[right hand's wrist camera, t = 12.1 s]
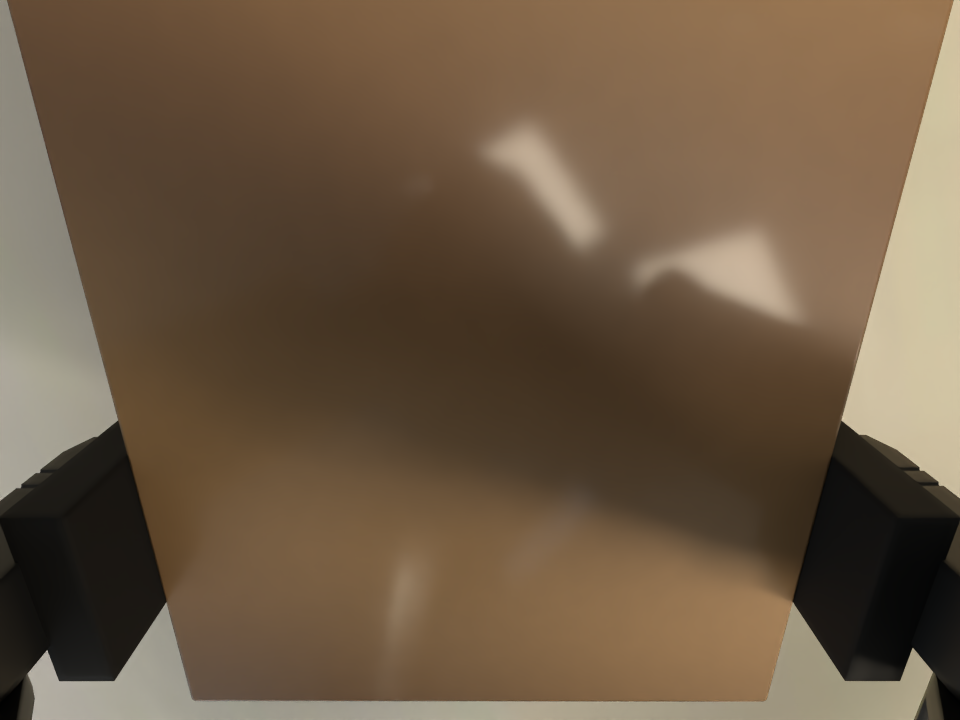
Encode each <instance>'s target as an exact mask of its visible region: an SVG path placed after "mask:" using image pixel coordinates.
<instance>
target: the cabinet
mask: <svg viewBox="0 0 960 720" xmlns="http://www.w3.org/2000/svg"><path fill="white" fill-rule="evenodd" d="M953 1H954V0H7V2H8V5H9V9H10V13H11V17H12V21H13V24H14V28H15V32H16V36H17V39H18V43H19V47H20V51H21V55H22V58H23V62H24V66H25V70H26V73H27V77H28V81H29V85H30V89H31V92H32V96H33V100H34V104H35V107H36V111H37V115H38V119H39V123H40V126H41V130H42V134H43V138H44V141H45V145H46V149H47V153H48V157H49V160H50V164H51V168H52V172H53V175H54V179H55V183H56V187H57V191H58V194H59V198H60V202H61V206H62V209H63V213H64V217H65V221H66V225H67V228H68V232H69V236H70V240H71V243H72V247H73V251H74V255H75V259H76V262H77V266H78V270H79V274H80V277H81V281H82V285H83V289H84V293H85V296H86V300H87V304H88V308H89V311H90V315H91V319H92V323H93V327H94V330H95V334H96V338H97V342H98V345H99V349H100V353H101V357H102V361H103V364H104V368H105V372H106V376H107V379H108V383H109V387H110V391H111V395H112V398H113V402H114V406H115V410H116V413H117V417H118V421H119V425H120V429H121V432H122V436H123V440H124V444H125V447H126V451H127V455H128V459H129V463H130V466H131V470H132V474H133V478H134V481H135V485H136V489H137V493H138V497H139V500H140V504H141V508H142V512H143V515H144V519H145V523H146V527H147V531H148V534H149V538H150V542H151V546H152V549H153V553H154V557H155V561H156V565H157V568H158V572H159V576H160V580H161V583H162V587H163V591H164V595H165V598H166V602H167V606H168V610H169V614H170V617H171V621H172V625H173V629H174V632H175V636H176V640H177V644H178V648H179V651H180V655H181V659H182V663H183V666H184V670H185V674H186V678H187V682H188V685H189V689H190V693H191V697H192V699H193V700H195V701H765V700H766V699H767V696H768V692H769V688H770V685H771V681H772V677H773V673H774V670H775V666H776V662H777V658H778V655H779V651H780V647H781V644H782V640H783V636H784V632H785V629H786V625H787V621H788V617H789V614H790V610H791V606H792V602H793V599H794V595H795V591H796V587H797V584H798V580H799V576H800V573H801V569H802V565H803V561H804V558H805V554H806V550H807V546H808V543H809V539H810V535H811V531H812V528H813V524H814V520H815V516H816V513H817V509H818V505H819V502H820V498H821V494H822V490H823V487H824V483H825V479H826V475H827V472H828V468H829V464H830V460H831V457H832V453H833V449H834V445H835V442H836V438H837V434H838V431H839V427H840V423H841V419H842V416H843V412H844V408H845V404H846V401H847V397H848V393H849V389H850V386H851V382H852V378H853V374H854V371H855V367H856V363H857V360H858V356H859V352H860V348H861V345H862V341H863V337H864V333H865V330H866V326H867V322H868V318H869V315H870V311H871V307H872V303H873V300H874V296H875V292H876V288H877V285H878V281H879V277H880V274H881V270H882V266H883V262H884V259H885V255H886V251H887V247H888V244H889V240H890V236H891V232H892V229H893V225H894V221H895V217H896V214H897V210H898V206H899V203H900V199H901V195H902V191H903V188H904V184H905V180H906V176H907V173H908V169H909V165H910V161H911V158H912V154H913V150H914V146H915V143H916V139H917V135H918V132H919V128H920V124H921V120H922V117H923V113H924V109H925V105H926V102H927V98H928V94H929V90H930V87H931V83H932V79H933V75H934V72H935V68H936V64H937V61H938V57H939V53H940V49H941V46H942V42H943V38H944V34H945V31H946V27H947V23H948V19H949V16H950V12H951V8H952V4H953Z"/></svg>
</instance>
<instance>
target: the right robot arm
mask: <svg viewBox="0 0 960 720" xmlns="http://www.w3.org/2000/svg"><path fill="white" fill-rule="evenodd" d="M21 485H22V487H21V488H16V489H15V490H14V491H12V492H11V493H10V494H9V495H7V496H6V497H5V498H3V499H2V500H1V501H0V720H32V713H33V706H34V699H35V698H34V692H33V687H32V684H31V681H30V679H29V677H28V672H29V671H30V670H31V669H32V667H33V666H34V665H35V664H36V663H37V661H38V660H39V659H40V658H41V657H42V655H43V654H44V653H45V652H46V651H47V650H48V653H49V655H50V658H51V660H52V663H53V666H54V668H55V671H56V674H57V676H58V679H59V681H115V679H116V678H117V676H118V674H119V673H120V671H121V670H122V668H123V667H124V665H125V664H126V662H127V661H128V659H129V658H130V656H131V655H132V653H133V652H134V650H135V649H136V647H137V646H138V644H139V643H140V641H141V640H142V638H143V637H144V635H145V634H146V632H147V631H148V629H149V628H150V626H151V625H152V623H153V621H154V620H155V618H156V617H157V615H158V614H159V612H160V611H161V609H162V608H163V606H164V605H165V603H166V598H165V595H164V591H163V587H162V583H161V580H160V576H159V572H158V568H157V565H156V561H155V557H154V553H153V549H152V546H151V542H150V538H149V534H148V531H147V527H146V523H145V519H144V515H143V512H142V508H141V504H140V500H139V497H138V493H137V489H136V485H135V481H134V478H133V474H132V470H131V466H130V463H129V459H128V455H127V451H126V447H125V444H124V440H123V436H122V432H121V429H120V425H119V421H117V422H116V423H114V424H113V425H112V426H111V427H109V428H108V429H107V430H106V431H105V432H103V433H102V434H101V435H100V436H98V437H93V438H91V439H89V440H87V441H85V442H83V443H81V444H79V445H77V446H75V447H73V448H71V449H68V450H66V451H64V452H63V453H61V454H60V455H59V456H57V457H56V458H55V459H54V460H52V461H51V462H50V463H48V464H47V465H46V466H45V467H43V468H42V469H41V472H40V473H36V474H34V475H33V476H32V477H30V478H29V479H28V480H27V481H25V482H24V483H23V484H21ZM793 603H794V604H795V606H796V607H797V609H798V610H799V612H800V613H801V615H802V616H803V618H804V619H805V621H806V622H807V624H808V625H809V627H810V629H811V630H812V632H813V633H814V635H815V636H816V638H817V639H818V641H819V642H820V644H821V645H822V647H823V648H824V650H825V651H826V653H827V654H828V656H829V657H830V659H831V660H832V662H833V663H834V665H835V666H836V668H837V669H838V671H839V672H840V674H841V675H842V677H843V678H844V680H845V681H900V680H901V677H902V674H903V672H904V669H905V666H906V664H907V661H908V658H909V656H910V653H911V650H912V648H914V649H915V651H916V652H917V653H918V654H919V655H920V657H921V658H922V659H923V660H924V661H925V663H926V664H927V665H928V666H929V667H930V669H931V670H932V671H933V674H932V677H931V679H930V681H929V684H928V686H927V689H926V691H925V694H924V696H923V699H922V701H921V704H920V706H919V709H918V711H917V714H916V716H915V719H914V720H960V498H958V497H957V496H956V495H954V494H953V493H952V492H951V491H949V490H948V489H947V488H945V487H944V486H939V484H938V481H936V480H935V479H934V478H932V477H931V476H930V475H929V474H927V473H926V472H925V471H920V470H919V467H918V466H917V465H916V464H914V463H913V462H912V461H910V460H909V459H908V458H907V457H905V456H904V455H903V454H901V453H900V452H899V451H898V450H896V449H894V448H892V447H890V446H888V445H886V444H883V443H881V442H879V441H877V440H875V439H873V438H871V437H869V436H867V435H858V434H857V433H856V432H855V431H854V430H852V429H851V428H850V427H849V426H847V425H846V424H845V423H844V422H842V421H841V423H840V427H839V431H838V434H837V438H836V442H835V445H834V449H833V453H832V457H831V460H830V464H829V468H828V472H827V475H826V479H825V483H824V487H823V490H822V494H821V498H820V502H819V505H818V509H817V513H816V516H815V520H814V524H813V528H812V531H811V535H810V539H809V543H808V546H807V550H806V554H805V558H804V561H803V565H802V569H801V573H800V576H799V580H798V584H797V587H796V591H795V595H794V599H793Z"/></svg>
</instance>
